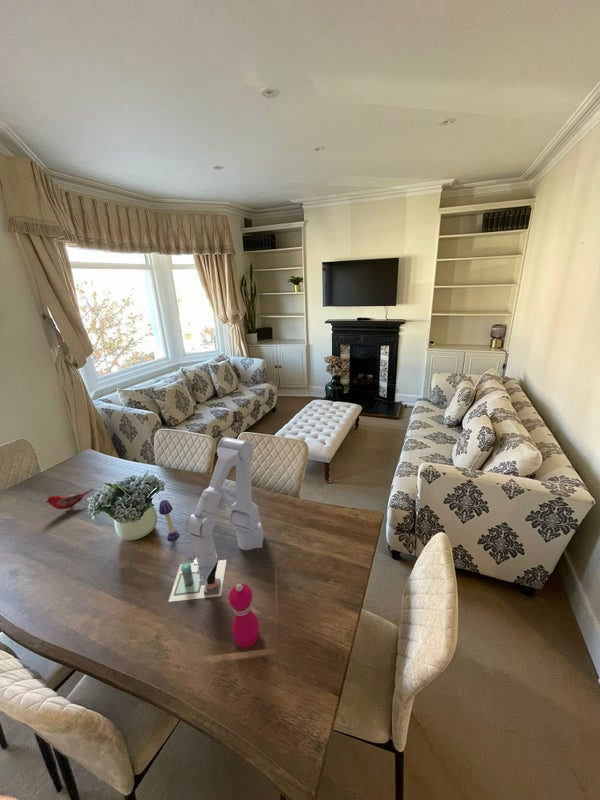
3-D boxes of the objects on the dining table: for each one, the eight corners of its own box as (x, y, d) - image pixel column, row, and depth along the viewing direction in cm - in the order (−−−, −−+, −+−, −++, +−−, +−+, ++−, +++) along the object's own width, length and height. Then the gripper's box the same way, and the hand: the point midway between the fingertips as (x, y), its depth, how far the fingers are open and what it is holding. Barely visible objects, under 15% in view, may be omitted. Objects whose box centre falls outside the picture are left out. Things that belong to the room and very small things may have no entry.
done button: (219, 582, 105) (217, 576, 104) (217, 592, 102) (216, 586, 101) (207, 583, 105) (206, 577, 104) (205, 593, 102) (204, 587, 101)
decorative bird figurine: (50, 516, 142) (43, 497, 139) (96, 498, 153) (90, 480, 149) (51, 519, 140) (43, 500, 137) (97, 501, 151) (91, 483, 147)
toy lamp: (174, 542, 124) (166, 506, 119) (163, 540, 125) (154, 505, 120) (181, 533, 129) (173, 498, 123) (170, 531, 130) (162, 497, 124)
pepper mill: (235, 626, 93) (226, 574, 86) (260, 623, 93) (253, 571, 86) (232, 653, 86) (222, 599, 79) (259, 650, 87) (252, 596, 80)
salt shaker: (194, 578, 108) (191, 562, 105) (193, 586, 105) (189, 570, 102) (185, 579, 107) (182, 563, 105) (183, 587, 104) (179, 571, 102)
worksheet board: (226, 561, 114) (226, 556, 114) (221, 598, 101) (220, 592, 101) (180, 566, 114) (179, 561, 113) (169, 604, 100) (167, 598, 100)
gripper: (196, 532, 104) (203, 564, 109) (185, 570, 91) (193, 604, 96) (218, 530, 105) (224, 562, 110) (210, 567, 91) (217, 602, 96)
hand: (211, 582), depth 103 cm, fingers closed, pressing on done button
